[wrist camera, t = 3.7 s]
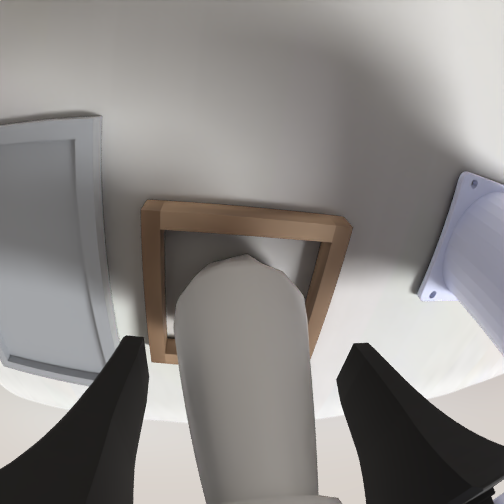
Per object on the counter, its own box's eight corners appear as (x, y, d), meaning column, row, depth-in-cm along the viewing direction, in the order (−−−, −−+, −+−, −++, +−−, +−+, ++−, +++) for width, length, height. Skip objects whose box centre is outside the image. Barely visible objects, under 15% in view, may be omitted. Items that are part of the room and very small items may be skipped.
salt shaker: (215, 346, 17) (228, 582, 6) (156, 271, 15) (103, 572, 3) (311, 305, 17) (395, 550, 5) (267, 216, 14) (376, 564, 3)
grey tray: (101, 115, 11) (93, 118, 10) (128, 380, 18) (125, 392, 18) (-50, 134, 9) (-62, 138, 9) (8, 356, 17) (3, 366, 16)
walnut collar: (343, 216, 14) (353, 227, 13) (303, 352, 18) (307, 367, 17) (147, 199, 13) (140, 209, 12) (154, 346, 17) (151, 362, 16)
